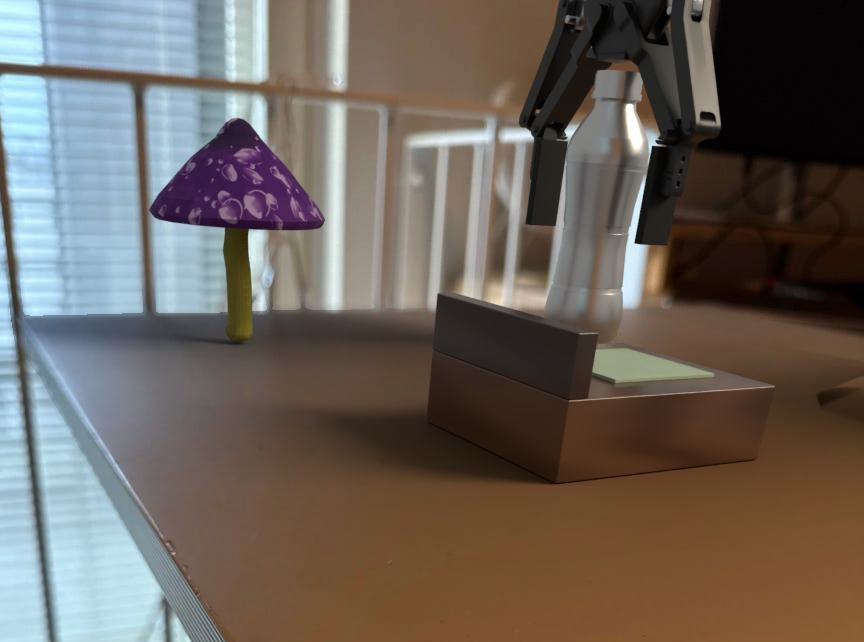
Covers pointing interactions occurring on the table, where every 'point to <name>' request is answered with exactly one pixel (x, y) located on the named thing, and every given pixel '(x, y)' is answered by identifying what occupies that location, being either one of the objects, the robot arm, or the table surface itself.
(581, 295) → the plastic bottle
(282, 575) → the table surface
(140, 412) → the table surface
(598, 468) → the metal stand with backrest
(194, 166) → the decorative mushroom
